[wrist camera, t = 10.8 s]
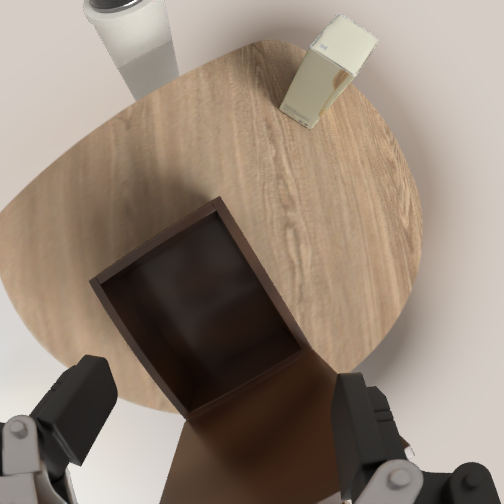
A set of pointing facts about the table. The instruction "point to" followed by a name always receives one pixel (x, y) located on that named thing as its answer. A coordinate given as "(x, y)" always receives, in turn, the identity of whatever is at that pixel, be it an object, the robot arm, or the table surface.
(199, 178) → the table surface
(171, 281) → the chest
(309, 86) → the cosmetic box
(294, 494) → the lid
